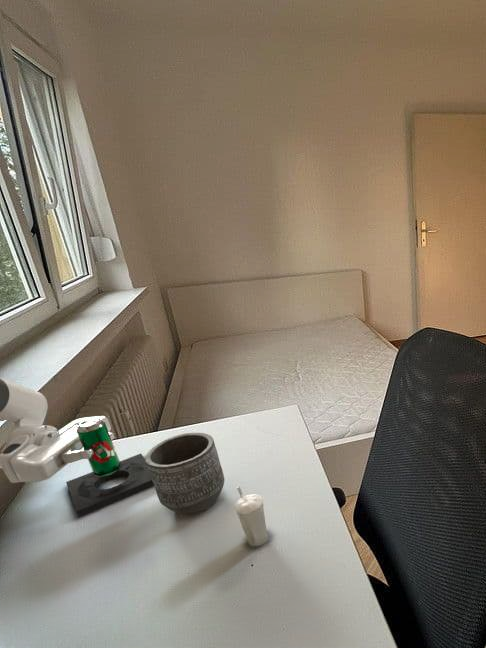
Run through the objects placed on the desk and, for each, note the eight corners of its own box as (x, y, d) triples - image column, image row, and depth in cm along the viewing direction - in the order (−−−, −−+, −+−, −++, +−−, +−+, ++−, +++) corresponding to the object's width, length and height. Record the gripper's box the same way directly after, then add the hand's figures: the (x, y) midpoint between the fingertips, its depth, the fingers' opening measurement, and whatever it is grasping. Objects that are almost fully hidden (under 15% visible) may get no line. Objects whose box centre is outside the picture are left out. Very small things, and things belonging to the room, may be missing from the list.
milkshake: (261, 525, 82) (250, 481, 78) (276, 539, 79) (265, 493, 74) (238, 538, 79) (225, 493, 75) (252, 553, 76) (239, 507, 72)
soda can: (102, 465, 98) (82, 417, 93) (125, 462, 98) (108, 415, 93) (89, 479, 93) (68, 429, 88) (114, 476, 93) (95, 427, 88)
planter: (196, 528, 82) (178, 472, 77) (149, 515, 87) (129, 460, 82) (241, 489, 92) (227, 436, 87) (197, 479, 97) (181, 428, 92)
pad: (79, 517, 87) (76, 511, 87) (68, 487, 97) (66, 481, 97) (159, 483, 96) (157, 477, 96) (142, 458, 106) (141, 453, 106)
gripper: (79, 433, 104) (135, 432, 103) (4, 488, 86) (72, 487, 85) (69, 410, 102) (127, 408, 101) (-10, 461, 83) (59, 459, 82)
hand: (101, 444), depth 93 cm, fingers closed on soda can, 5 cm apart
